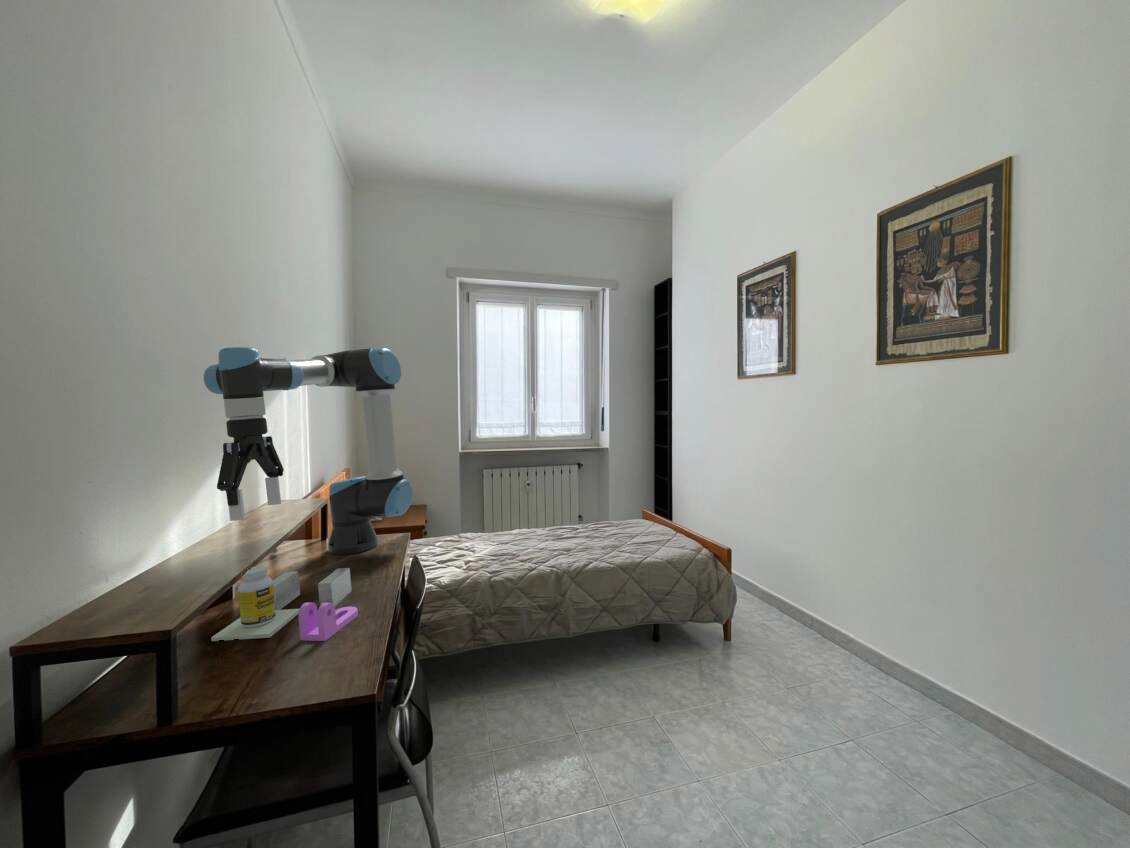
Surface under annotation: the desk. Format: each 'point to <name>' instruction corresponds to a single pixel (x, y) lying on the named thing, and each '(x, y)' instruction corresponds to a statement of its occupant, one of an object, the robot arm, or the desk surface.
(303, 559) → the desk surface
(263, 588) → the pill bottle
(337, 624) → the bracket
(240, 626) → the mat
